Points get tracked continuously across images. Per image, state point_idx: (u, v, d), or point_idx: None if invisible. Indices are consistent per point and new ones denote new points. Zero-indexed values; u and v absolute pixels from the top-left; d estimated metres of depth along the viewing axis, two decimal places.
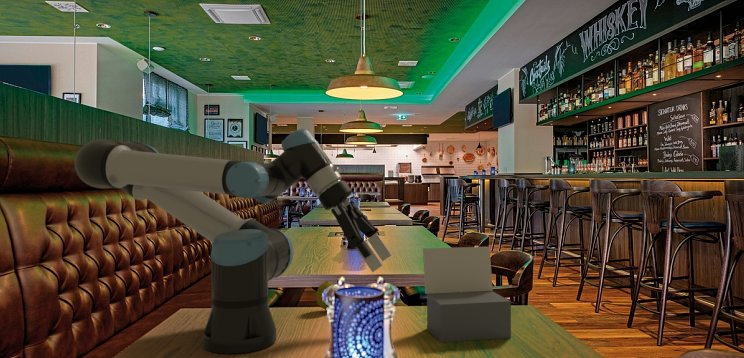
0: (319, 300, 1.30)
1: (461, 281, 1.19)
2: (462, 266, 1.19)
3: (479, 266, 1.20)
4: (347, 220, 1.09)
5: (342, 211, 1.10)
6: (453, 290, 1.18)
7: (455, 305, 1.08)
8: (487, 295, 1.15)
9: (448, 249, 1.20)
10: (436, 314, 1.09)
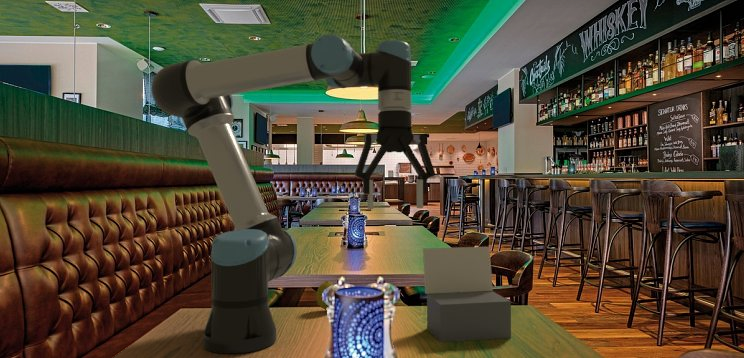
0: (319, 300, 1.30)
1: (461, 281, 1.19)
2: (462, 266, 1.19)
3: (479, 266, 1.20)
4: (362, 153, 1.12)
5: (365, 142, 1.12)
6: (453, 290, 1.18)
7: (455, 305, 1.08)
8: (487, 295, 1.15)
9: (448, 249, 1.20)
10: (436, 314, 1.09)
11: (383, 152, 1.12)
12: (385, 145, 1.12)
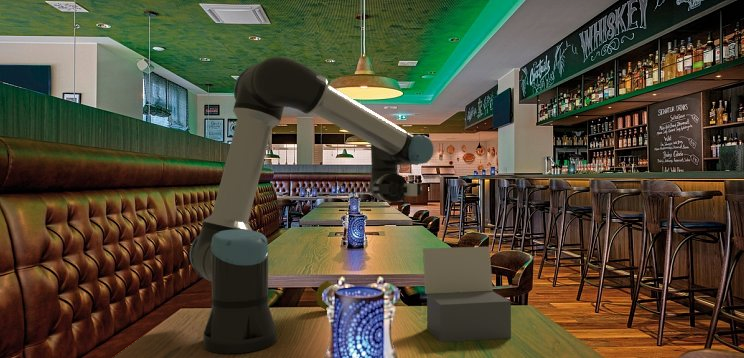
0: (319, 300, 1.30)
1: (461, 281, 1.19)
2: (462, 266, 1.19)
3: (479, 266, 1.20)
4: None
5: None
6: (453, 290, 1.18)
7: (455, 305, 1.08)
8: (487, 295, 1.15)
9: (448, 249, 1.20)
10: (436, 314, 1.09)
11: (404, 195, 1.26)
12: (404, 195, 1.28)
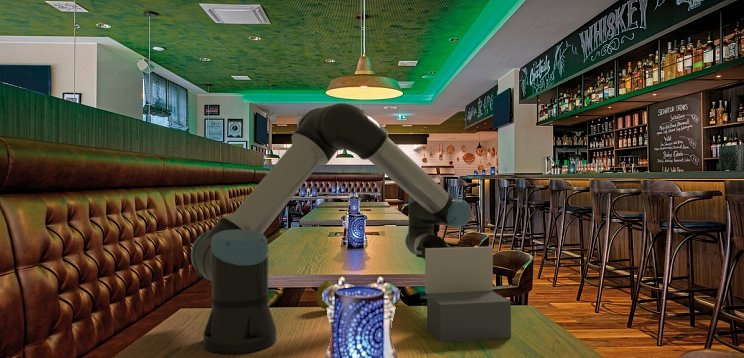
0: (319, 300, 1.30)
1: (462, 281, 1.18)
2: (464, 266, 1.18)
3: (481, 266, 1.19)
4: None
5: None
6: (453, 290, 1.18)
7: (455, 305, 1.08)
8: (487, 295, 1.15)
9: (451, 250, 1.18)
10: (436, 314, 1.09)
11: None
12: None
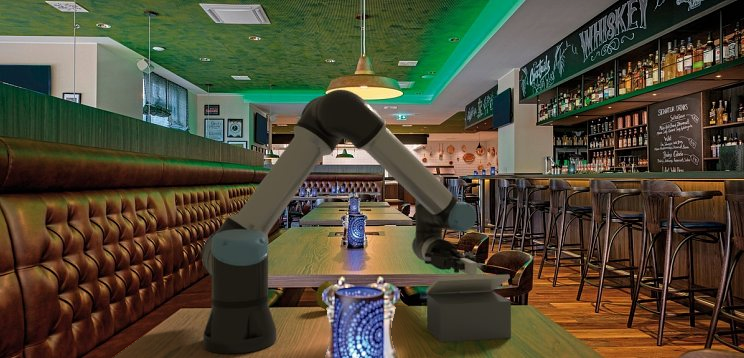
0: (319, 300, 1.30)
1: (465, 289, 1.16)
2: (472, 284, 1.13)
3: (489, 284, 1.14)
4: None
5: None
6: (454, 291, 1.18)
7: (455, 305, 1.08)
8: (487, 295, 1.15)
9: (464, 280, 1.09)
10: (436, 314, 1.09)
11: None
12: None
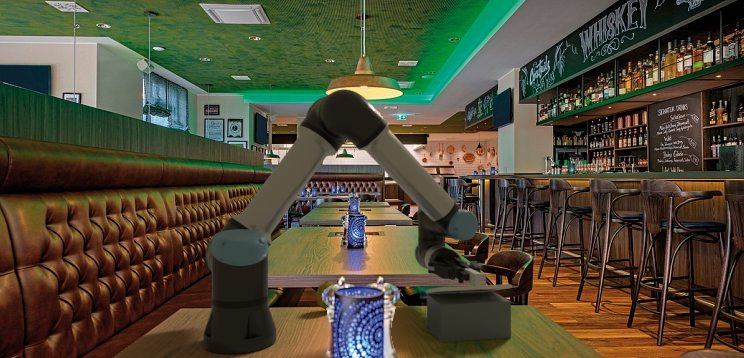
0: (319, 300, 1.30)
1: (465, 291, 1.16)
2: (473, 290, 1.13)
3: None
4: None
5: None
6: None
7: (455, 305, 1.08)
8: (487, 295, 1.15)
9: (465, 290, 1.08)
10: (436, 314, 1.09)
11: None
12: None
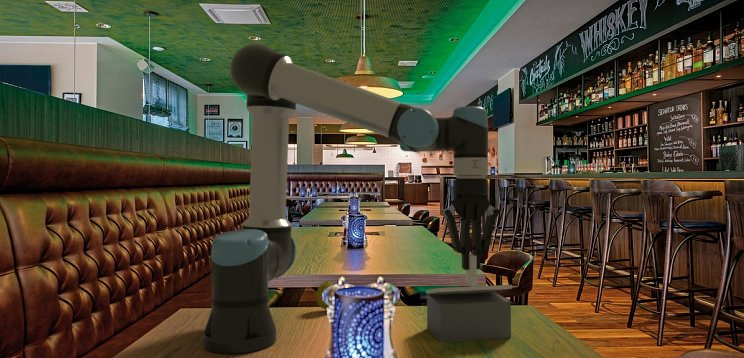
0: (319, 300, 1.30)
1: (465, 291, 1.16)
2: None
3: None
4: (451, 230, 1.10)
5: (448, 219, 1.09)
6: None
7: (455, 305, 1.08)
8: (487, 295, 1.15)
9: (465, 290, 1.08)
10: (436, 314, 1.09)
11: (468, 223, 1.09)
12: (466, 215, 1.09)
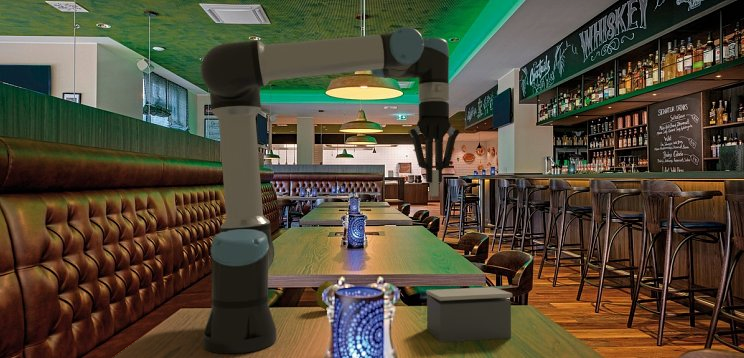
0: (319, 300, 1.30)
1: None
2: None
3: None
4: (416, 147, 1.25)
5: (413, 137, 1.25)
6: None
7: (455, 305, 1.08)
8: None
9: None
10: (436, 314, 1.09)
11: (431, 140, 1.25)
12: (429, 134, 1.24)
